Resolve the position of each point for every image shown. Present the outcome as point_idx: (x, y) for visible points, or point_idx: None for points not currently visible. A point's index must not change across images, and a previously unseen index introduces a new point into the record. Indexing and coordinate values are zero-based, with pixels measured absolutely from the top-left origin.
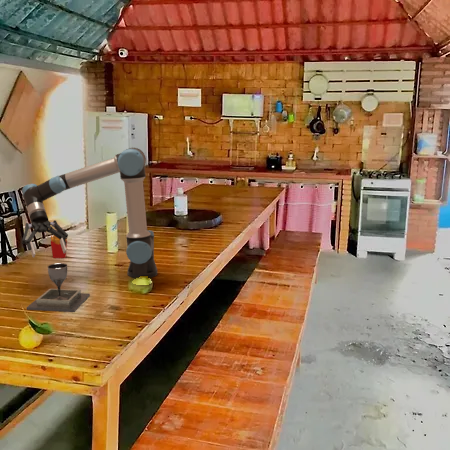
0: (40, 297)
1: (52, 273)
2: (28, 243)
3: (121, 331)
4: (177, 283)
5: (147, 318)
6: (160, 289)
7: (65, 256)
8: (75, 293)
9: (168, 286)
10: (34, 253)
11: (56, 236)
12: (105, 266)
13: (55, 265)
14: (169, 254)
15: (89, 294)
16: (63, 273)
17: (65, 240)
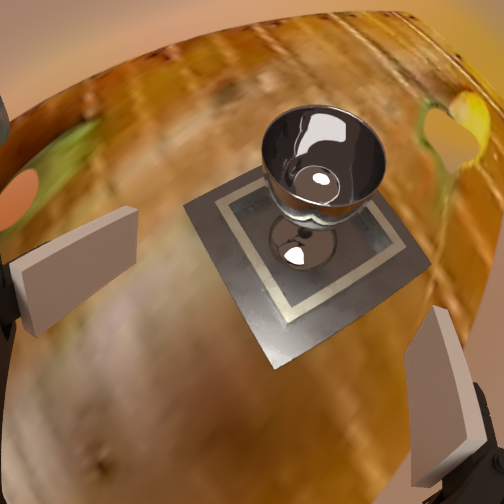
0: (384, 253)
1: (370, 155)
2: (486, 442)
3: (318, 29)
4: (16, 132)
5: (236, 32)
6: (59, 122)
7: None
8: (258, 186)
9: (36, 127)
10: (440, 312)
11: (1, 383)
12: None
13: (301, 204)
14: None
15: (187, 204)
16: (318, 129)
17: (19, 256)
